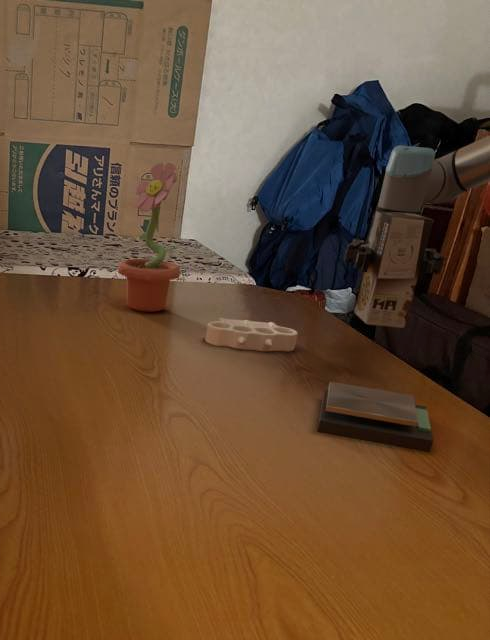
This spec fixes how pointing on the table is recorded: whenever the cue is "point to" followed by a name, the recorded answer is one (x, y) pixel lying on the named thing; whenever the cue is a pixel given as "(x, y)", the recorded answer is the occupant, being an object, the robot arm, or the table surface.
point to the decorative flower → (151, 274)
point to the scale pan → (371, 404)
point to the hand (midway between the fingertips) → (394, 266)
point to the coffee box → (392, 268)
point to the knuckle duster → (250, 335)
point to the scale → (378, 428)
